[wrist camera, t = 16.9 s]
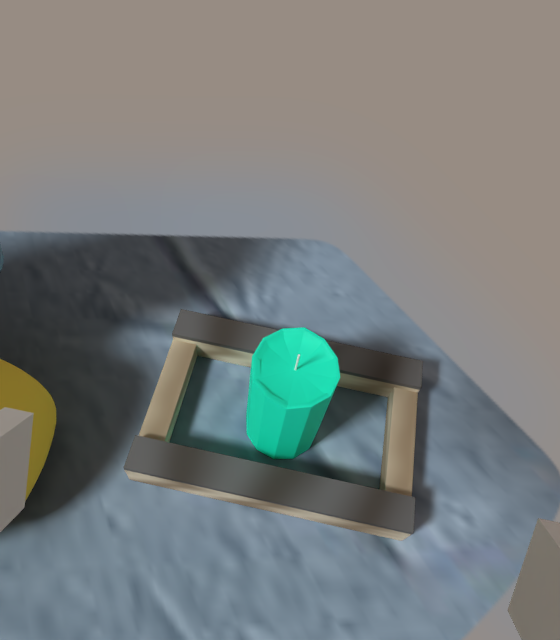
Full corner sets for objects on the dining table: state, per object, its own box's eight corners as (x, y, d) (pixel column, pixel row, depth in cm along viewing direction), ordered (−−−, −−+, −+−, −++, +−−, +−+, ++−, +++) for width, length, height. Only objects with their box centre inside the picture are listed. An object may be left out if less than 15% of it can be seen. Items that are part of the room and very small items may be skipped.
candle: (254, 384, 45) (263, 306, 35) (323, 400, 45) (351, 326, 35) (237, 450, 42) (241, 386, 32) (310, 467, 42) (338, 408, 32)
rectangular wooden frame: (129, 479, 40) (123, 467, 38) (183, 327, 48) (181, 309, 45) (401, 541, 40) (413, 533, 37) (412, 376, 47) (422, 361, 45)
